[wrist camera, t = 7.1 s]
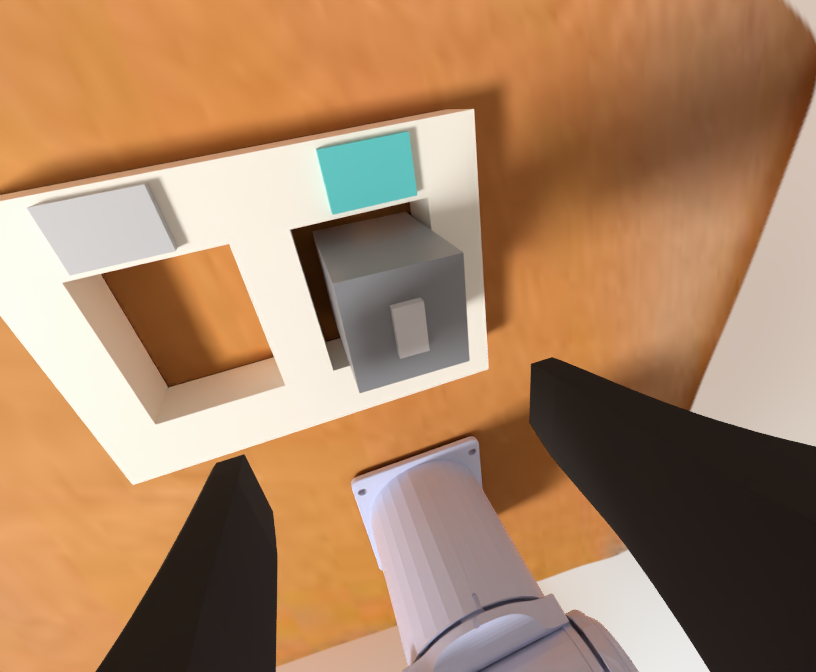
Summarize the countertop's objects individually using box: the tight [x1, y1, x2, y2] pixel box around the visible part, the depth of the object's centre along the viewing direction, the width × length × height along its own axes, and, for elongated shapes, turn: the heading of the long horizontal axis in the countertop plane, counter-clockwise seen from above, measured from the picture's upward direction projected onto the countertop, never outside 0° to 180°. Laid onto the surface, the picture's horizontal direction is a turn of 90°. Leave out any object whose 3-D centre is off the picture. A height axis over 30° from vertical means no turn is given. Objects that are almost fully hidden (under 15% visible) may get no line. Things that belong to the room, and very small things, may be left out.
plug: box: [312, 212, 470, 393], centre depth 15 cm, size 4×4×6 cm
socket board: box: [0, 109, 489, 485], centre depth 16 cm, size 11×16×3 cm
